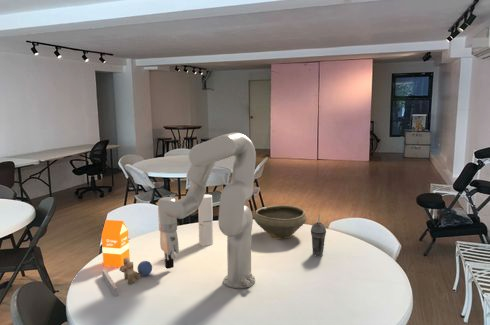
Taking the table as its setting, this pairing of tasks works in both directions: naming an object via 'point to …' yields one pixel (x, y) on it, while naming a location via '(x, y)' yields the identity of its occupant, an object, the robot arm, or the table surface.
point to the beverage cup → (318, 238)
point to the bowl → (280, 220)
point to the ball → (144, 268)
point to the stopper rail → (110, 282)
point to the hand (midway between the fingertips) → (169, 267)
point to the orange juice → (115, 243)
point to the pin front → (124, 270)
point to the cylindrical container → (206, 221)
